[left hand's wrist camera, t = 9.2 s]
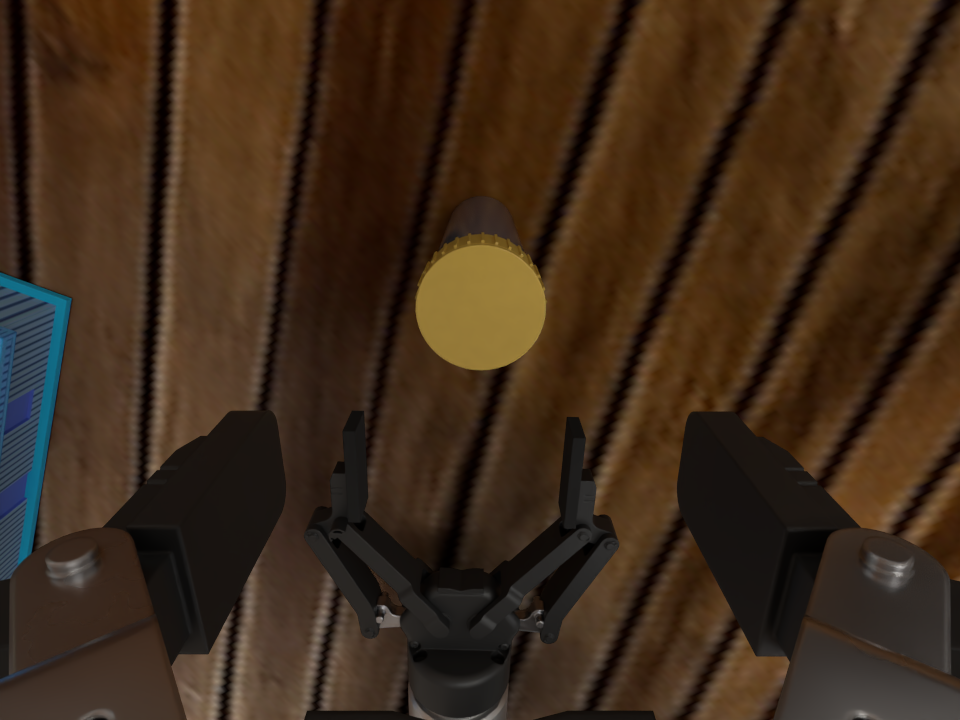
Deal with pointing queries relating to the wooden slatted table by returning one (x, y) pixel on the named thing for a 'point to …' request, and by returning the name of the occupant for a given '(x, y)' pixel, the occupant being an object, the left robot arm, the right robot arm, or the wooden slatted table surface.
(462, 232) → the grey bottle
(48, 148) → the wooden slatted table surface
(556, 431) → the wooden slatted table surface
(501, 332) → the lid
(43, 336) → the model building
